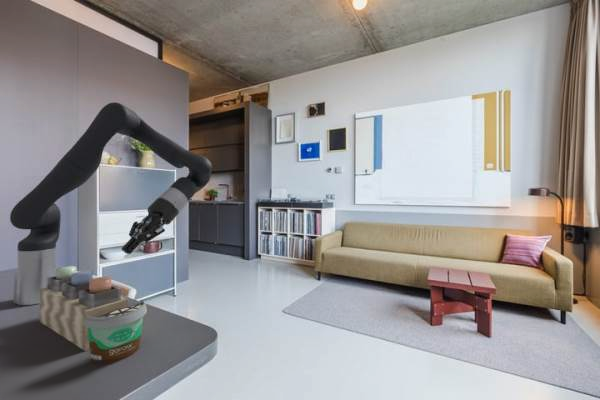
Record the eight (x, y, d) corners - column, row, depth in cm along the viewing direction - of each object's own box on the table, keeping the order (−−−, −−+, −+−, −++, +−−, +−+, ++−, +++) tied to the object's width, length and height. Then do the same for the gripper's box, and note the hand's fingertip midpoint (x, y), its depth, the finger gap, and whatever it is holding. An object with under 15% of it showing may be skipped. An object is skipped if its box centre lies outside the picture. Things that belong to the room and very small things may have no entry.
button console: (39, 321, 76) (40, 278, 76) (78, 310, 84) (79, 271, 84) (85, 351, 61) (86, 298, 62) (127, 334, 69) (128, 287, 69)
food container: (96, 374, 53) (96, 323, 53) (82, 364, 57) (83, 316, 57) (157, 346, 64) (157, 304, 64) (143, 339, 67) (143, 298, 67)
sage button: (53, 279, 77) (53, 268, 77) (72, 276, 81) (72, 265, 81) (59, 282, 75) (59, 270, 75) (79, 278, 78) (79, 267, 78)
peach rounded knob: (85, 293, 67) (86, 280, 67) (105, 288, 70) (106, 275, 70) (94, 296, 64) (94, 283, 64) (114, 291, 68) (114, 278, 68)
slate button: (68, 286, 72) (68, 273, 72) (88, 281, 76) (88, 270, 76) (75, 289, 70) (75, 276, 70) (95, 284, 73) (95, 272, 73)
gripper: (147, 196, 84) (101, 240, 73) (174, 196, 77) (128, 245, 67) (163, 213, 89) (122, 257, 78) (190, 214, 82) (149, 263, 71)
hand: (125, 251), depth 72 cm, fingers closed
